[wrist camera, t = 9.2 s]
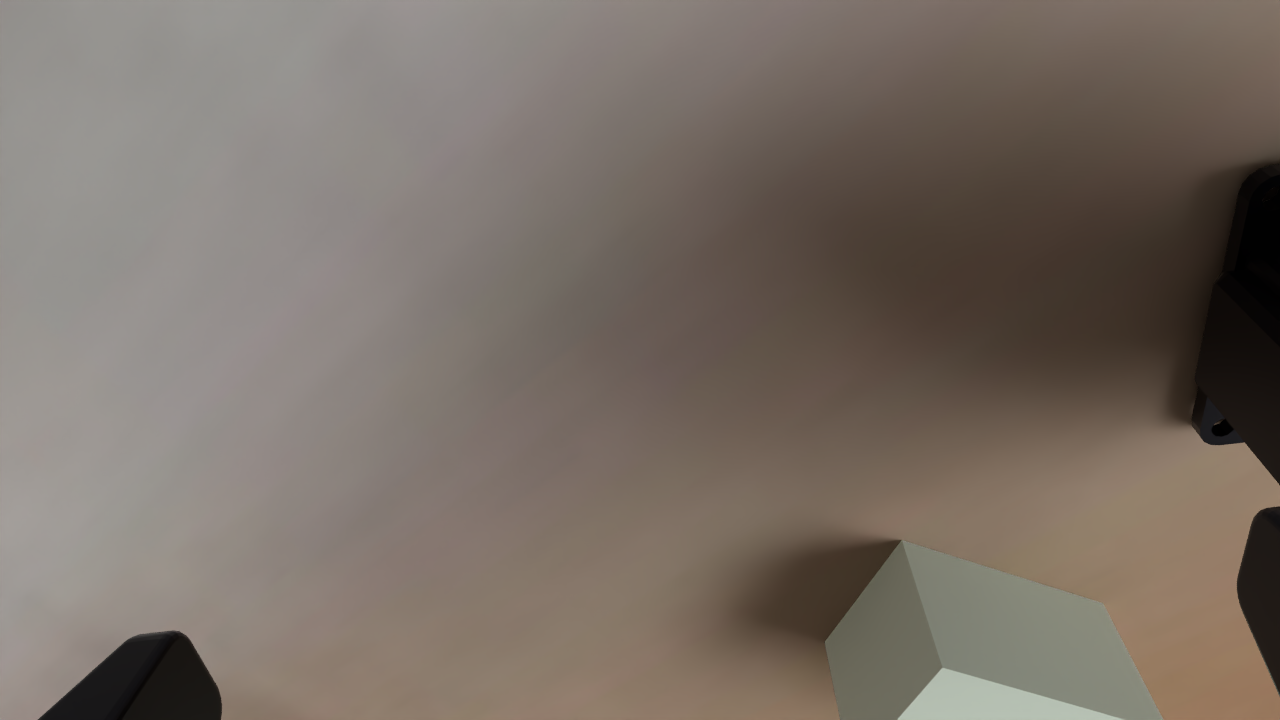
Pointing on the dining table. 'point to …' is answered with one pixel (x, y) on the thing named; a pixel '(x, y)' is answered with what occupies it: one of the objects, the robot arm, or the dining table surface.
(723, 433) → the dining table surface
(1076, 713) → the sage brick
